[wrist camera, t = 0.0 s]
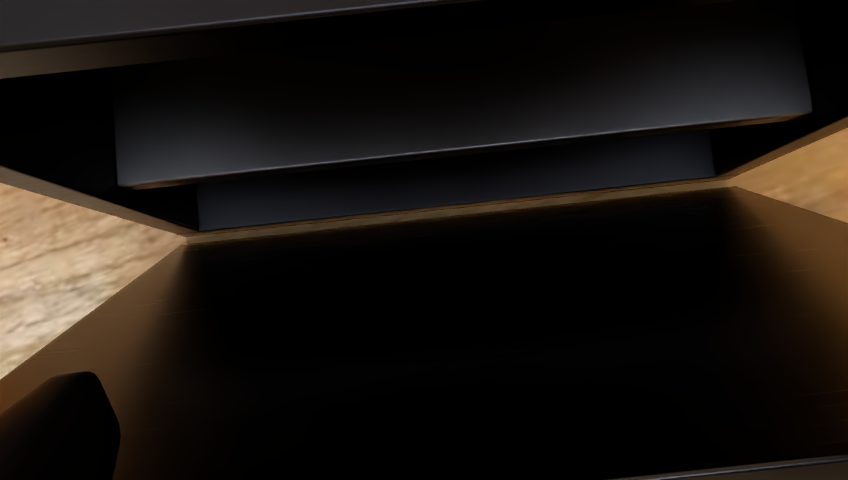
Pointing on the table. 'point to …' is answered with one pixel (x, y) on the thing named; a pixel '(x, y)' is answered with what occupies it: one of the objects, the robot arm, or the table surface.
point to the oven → (401, 101)
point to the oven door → (485, 348)
